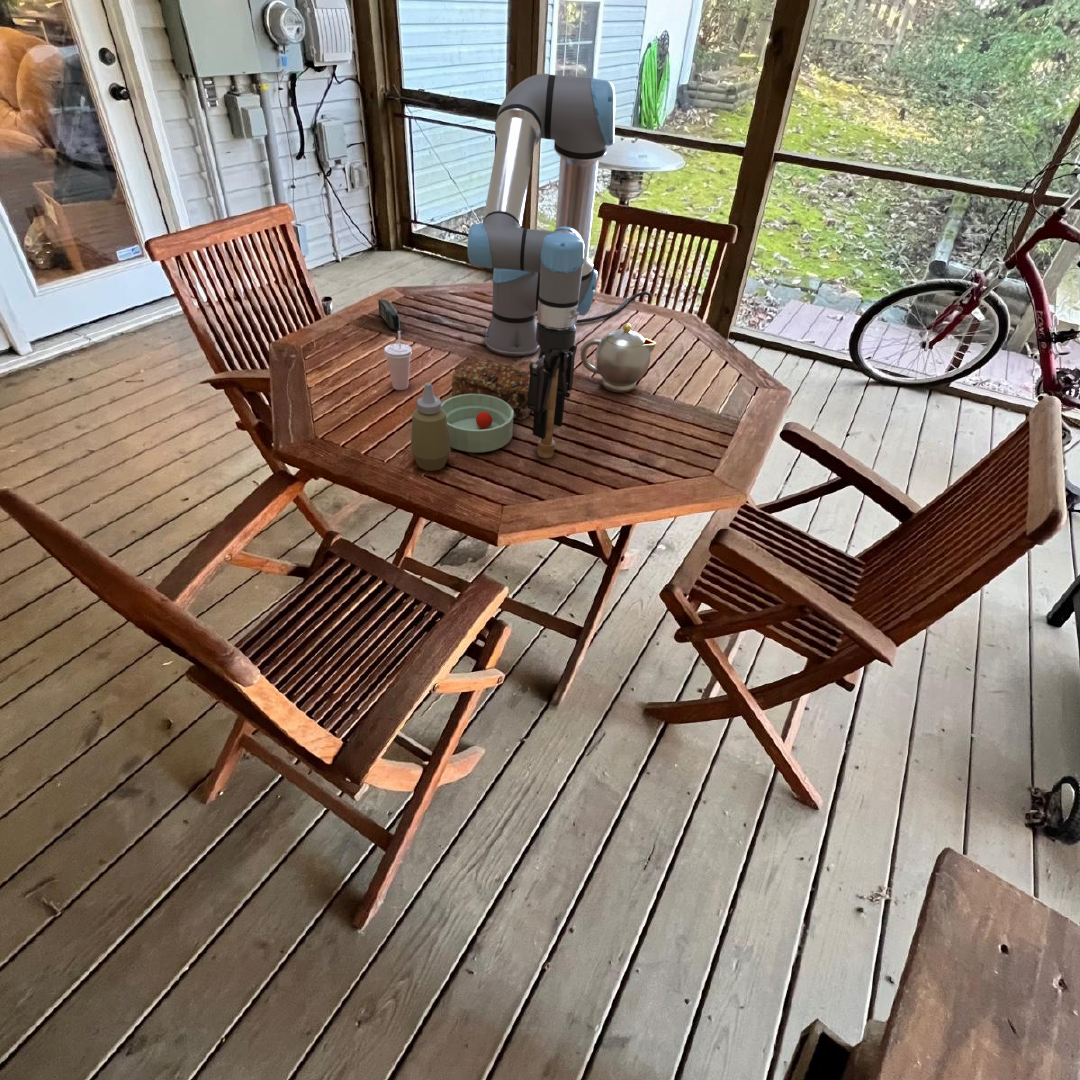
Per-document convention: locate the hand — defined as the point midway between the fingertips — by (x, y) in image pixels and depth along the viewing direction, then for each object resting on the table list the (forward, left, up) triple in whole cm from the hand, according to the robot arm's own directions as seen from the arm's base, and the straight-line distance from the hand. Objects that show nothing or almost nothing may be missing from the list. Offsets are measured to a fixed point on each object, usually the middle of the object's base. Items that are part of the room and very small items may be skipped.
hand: (547, 430), depth 144 cm
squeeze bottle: (+19, -16, -6) cm, 25 cm away
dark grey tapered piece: (-28, -72, -6) cm, 78 cm away
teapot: (-38, -5, -6) cm, 39 cm away
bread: (-10, -21, -6) cm, 24 cm away
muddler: (0, 0, -6) cm, 6 cm away
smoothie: (-2, -44, -6) cm, 44 cm away
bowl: (+4, -16, -6) cm, 17 cm away
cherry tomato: (+1, -16, -3) cm, 16 cm away
